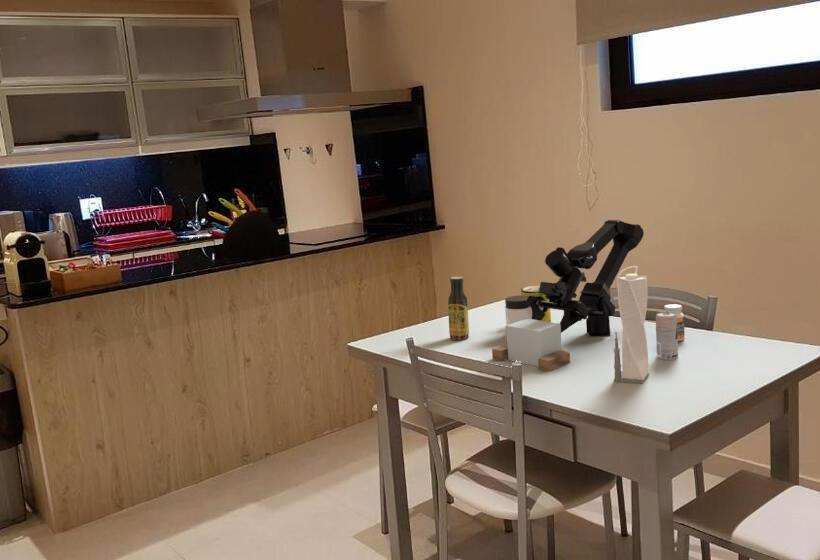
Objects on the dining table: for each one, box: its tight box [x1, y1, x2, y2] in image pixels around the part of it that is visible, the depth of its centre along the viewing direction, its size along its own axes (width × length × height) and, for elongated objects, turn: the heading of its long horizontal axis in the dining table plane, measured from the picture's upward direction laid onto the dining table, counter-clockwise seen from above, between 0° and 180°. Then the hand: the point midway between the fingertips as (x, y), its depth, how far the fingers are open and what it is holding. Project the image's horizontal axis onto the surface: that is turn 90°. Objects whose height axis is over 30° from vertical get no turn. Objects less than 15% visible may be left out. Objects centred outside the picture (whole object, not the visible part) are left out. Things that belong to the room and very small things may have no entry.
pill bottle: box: [663, 303, 685, 342], centre depth 217 cm, size 6×6×10 cm
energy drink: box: [655, 311, 679, 361], centre depth 202 cm, size 5×5×12 cm
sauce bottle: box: [447, 276, 470, 341], centre depth 239 cm, size 7×6×20 cm
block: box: [505, 319, 563, 367], centre depth 212 cm, size 9×12×10 cm
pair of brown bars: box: [491, 343, 571, 373], centre depth 211 cm, size 9×20×3 cm, turn 40°
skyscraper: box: [613, 265, 650, 385], centre depth 188 cm, size 8×8×28 cm
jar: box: [504, 294, 532, 327], centre depth 236 cm, size 9×8×12 cm
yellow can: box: [520, 285, 552, 322], centre depth 248 cm, size 9×9×12 cm
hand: (544, 331), depth 214 cm, fingers open, 9 cm apart
